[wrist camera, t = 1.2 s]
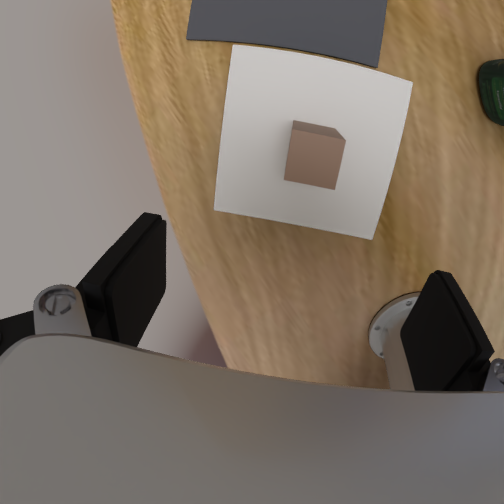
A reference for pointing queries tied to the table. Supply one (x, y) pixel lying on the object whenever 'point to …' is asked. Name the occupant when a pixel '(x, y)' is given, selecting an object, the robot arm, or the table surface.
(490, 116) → the coffee jar
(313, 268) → the table surface
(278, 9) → the mat
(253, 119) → the lid
